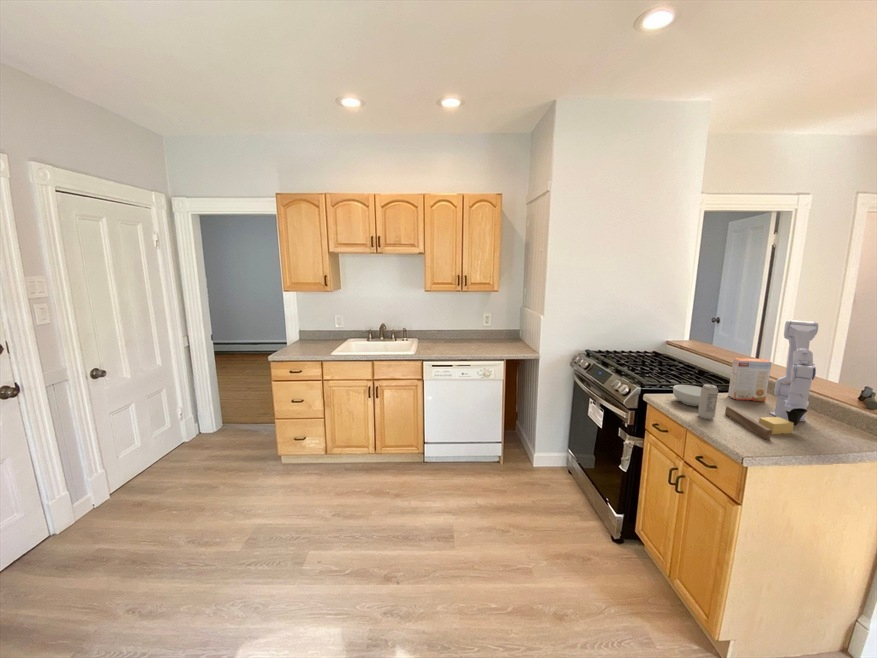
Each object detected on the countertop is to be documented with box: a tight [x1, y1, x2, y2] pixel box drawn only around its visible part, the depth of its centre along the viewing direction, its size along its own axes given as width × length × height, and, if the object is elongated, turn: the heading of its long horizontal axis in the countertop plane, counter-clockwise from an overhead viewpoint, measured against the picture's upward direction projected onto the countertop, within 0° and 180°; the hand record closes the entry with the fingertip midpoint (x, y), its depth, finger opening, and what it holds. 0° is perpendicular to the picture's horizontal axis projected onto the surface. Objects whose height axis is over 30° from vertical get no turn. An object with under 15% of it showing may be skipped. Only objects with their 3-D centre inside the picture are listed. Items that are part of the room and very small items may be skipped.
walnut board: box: [724, 405, 772, 440], centre depth 153 cm, size 2×24×4 cm, turn 173°
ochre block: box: [758, 416, 794, 435], centre depth 149 cm, size 9×6×4 cm, turn 96°
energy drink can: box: [697, 383, 719, 420], centre depth 160 cm, size 6×6×15 cm
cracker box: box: [727, 357, 772, 402], centre depth 182 cm, size 14×6×21 cm, turn 77°
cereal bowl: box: [672, 384, 702, 407], centre depth 177 cm, size 17×17×7 cm
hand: (792, 424), depth 148 cm, fingers closed
